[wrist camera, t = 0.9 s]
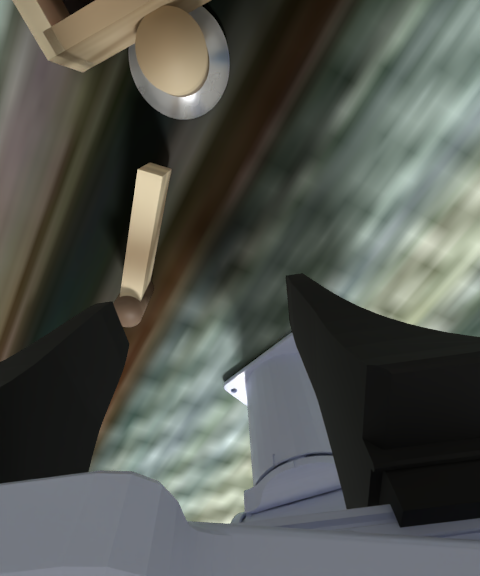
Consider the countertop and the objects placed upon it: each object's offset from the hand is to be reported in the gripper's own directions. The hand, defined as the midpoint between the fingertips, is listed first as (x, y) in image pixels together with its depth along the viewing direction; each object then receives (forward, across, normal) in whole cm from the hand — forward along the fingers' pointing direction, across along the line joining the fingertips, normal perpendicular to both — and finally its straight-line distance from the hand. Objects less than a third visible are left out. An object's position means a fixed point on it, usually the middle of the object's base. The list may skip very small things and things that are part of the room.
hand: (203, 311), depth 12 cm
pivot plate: (+9, 0, -9) cm, 13 cm away
